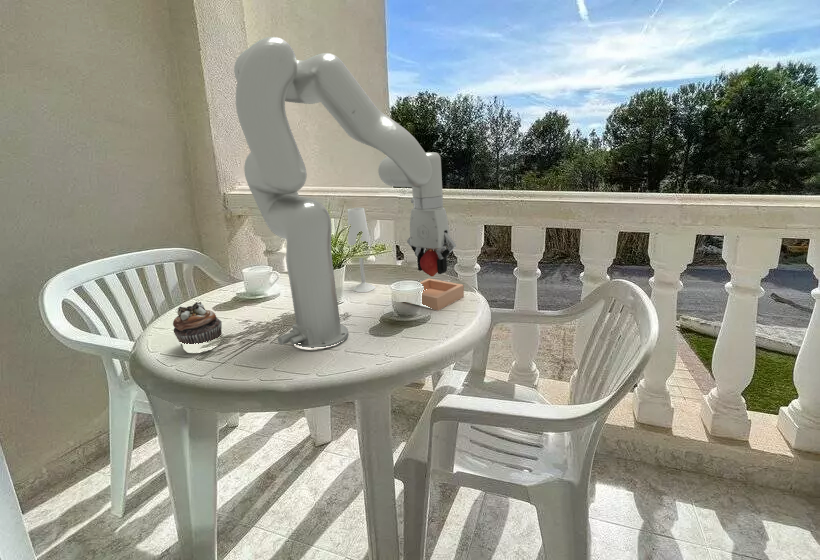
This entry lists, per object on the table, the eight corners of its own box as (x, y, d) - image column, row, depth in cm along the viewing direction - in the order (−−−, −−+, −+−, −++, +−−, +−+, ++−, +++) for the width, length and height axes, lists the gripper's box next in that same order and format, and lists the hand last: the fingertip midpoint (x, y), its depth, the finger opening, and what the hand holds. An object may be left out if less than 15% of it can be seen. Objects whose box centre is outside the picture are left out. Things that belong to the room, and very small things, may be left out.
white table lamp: (364, 283, 132) (356, 206, 125) (379, 286, 128) (372, 207, 121) (348, 289, 127) (339, 210, 120) (363, 293, 123) (355, 211, 116)
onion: (418, 279, 111) (416, 250, 108) (424, 272, 116) (422, 244, 113) (440, 280, 109) (438, 250, 107) (444, 273, 114) (443, 244, 112)
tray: (437, 310, 107) (437, 298, 106) (402, 302, 114) (401, 290, 113) (463, 296, 115) (463, 284, 114) (429, 289, 123) (428, 278, 122)
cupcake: (190, 360, 89) (179, 316, 86) (172, 348, 96) (161, 307, 93) (233, 343, 96) (224, 302, 93) (213, 333, 102) (205, 294, 99)
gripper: (393, 204, 109) (399, 270, 115) (447, 206, 99) (450, 279, 104) (411, 200, 115) (416, 263, 120) (465, 202, 104) (467, 271, 110)
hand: (432, 270), depth 112 cm, fingers closed on onion, 5 cm apart
